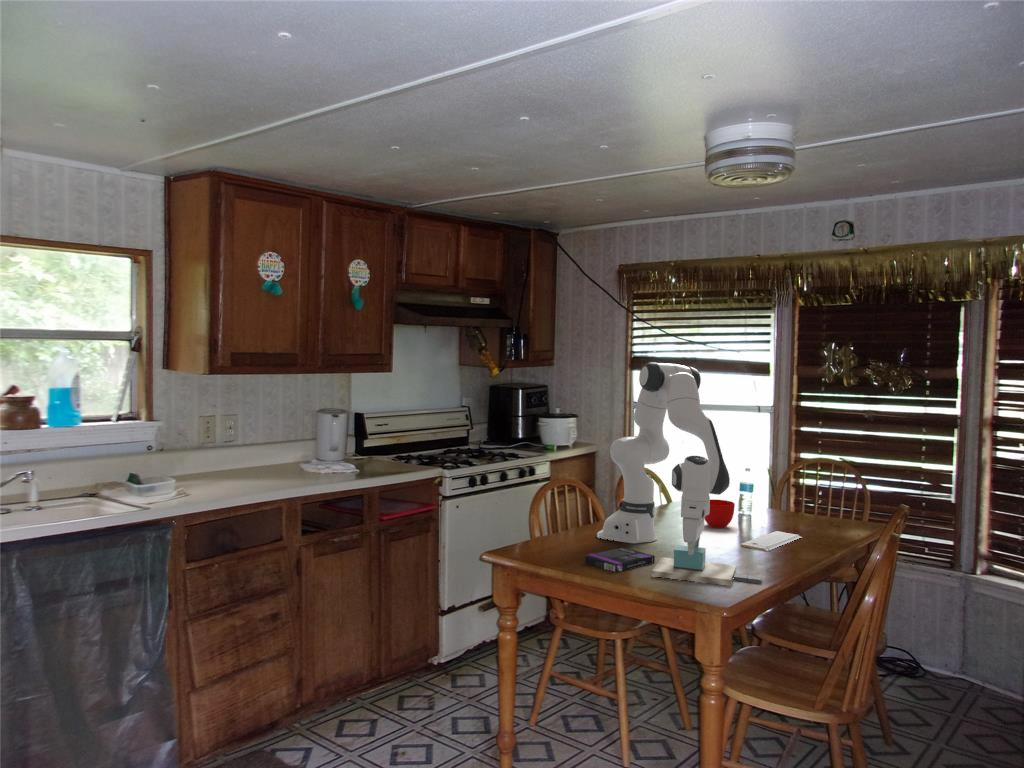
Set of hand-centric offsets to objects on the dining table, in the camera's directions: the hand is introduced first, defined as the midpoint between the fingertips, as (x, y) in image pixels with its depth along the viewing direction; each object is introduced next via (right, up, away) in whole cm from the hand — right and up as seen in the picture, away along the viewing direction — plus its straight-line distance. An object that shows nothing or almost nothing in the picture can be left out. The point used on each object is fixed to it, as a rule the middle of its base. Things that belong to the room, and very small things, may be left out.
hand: (693, 550), depth 253 cm
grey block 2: (+17, -7, -7) cm, 20 cm away
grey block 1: (+14, -8, -5) cm, 17 cm away
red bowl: (+26, -5, +73) cm, 78 cm away
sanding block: (-1, -5, +1) cm, 6 cm away
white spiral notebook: (+41, -7, +46) cm, 62 cm away
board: (0, -8, 0) cm, 8 cm away
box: (-22, -7, +12) cm, 26 cm away
